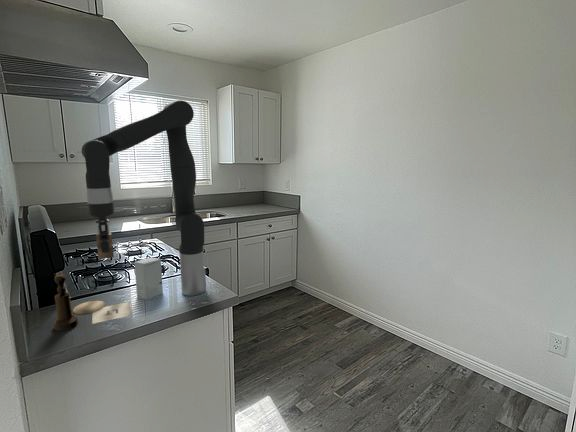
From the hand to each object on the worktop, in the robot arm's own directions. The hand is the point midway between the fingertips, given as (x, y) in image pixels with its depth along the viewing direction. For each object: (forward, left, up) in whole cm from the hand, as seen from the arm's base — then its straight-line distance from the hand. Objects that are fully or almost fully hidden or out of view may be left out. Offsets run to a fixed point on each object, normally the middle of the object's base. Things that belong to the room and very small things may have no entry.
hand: (105, 250), depth 111 cm
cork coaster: (+7, -8, -23) cm, 26 cm away
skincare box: (-14, -9, -24) cm, 29 cm away
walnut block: (0, 0, -2) cm, 2 cm away
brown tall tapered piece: (+13, +3, -24) cm, 27 cm away
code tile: (0, 0, -23) cm, 23 cm away
